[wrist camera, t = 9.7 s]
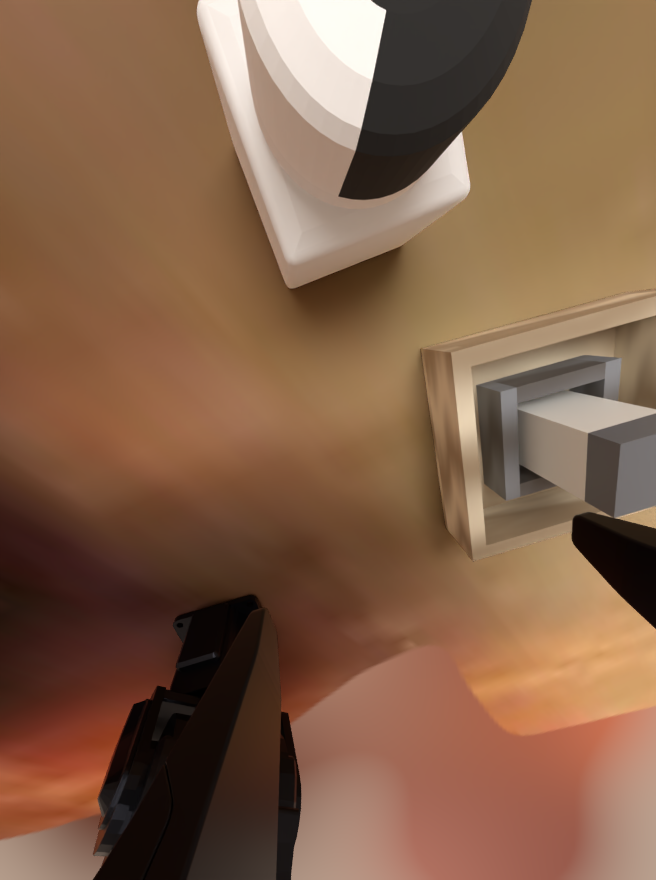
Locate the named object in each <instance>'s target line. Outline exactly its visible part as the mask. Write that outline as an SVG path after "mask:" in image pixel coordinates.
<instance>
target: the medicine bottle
mask: <svg viewBox="0 0 656 880" xmlns="http://www.w3.org/2000/svg"><path fill="white" fill-rule="evenodd" d="M531 1H532V0H199V2H198V6H197V17H198V23H199V27H200V30H201V34H202V37H203V41H204V44H205V48H206V51H207V55H208V58H209V62H210V65H211V68H212V72H213V75H214V79H215V82H216V86H217V89H218V93H219V96H220V100H221V103H222V107H223V110H224V114H225V117H226V121H227V124H228V128H229V131H230V135H231V138H232V142H233V145H234V148H235V151H236V153H237V156H238V159H239V161H240V164H241V167H242V169H243V172H244V175H245V177H246V180H247V183H248V185H249V188H250V191H251V193H252V196H253V199H254V201H255V204H256V207H257V209H258V212H259V215H260V217H261V220H262V223H263V225H264V228H265V231H266V233H267V236H268V239H269V241H270V244H271V247H272V249H273V252H274V255H275V257H276V260H277V263H278V265H279V268H280V271H281V273H282V276H283V279H284V281H285V284H286V285H287V287H288V288H290V289H293V288H297V287H299V286H302V285H304V284H307V283H309V282H312V281H314V280H317V279H319V278H322V277H324V276H327V275H329V274H332V273H335V272H337V271H340V270H342V269H345V268H347V267H350V266H352V265H355V264H357V263H360V262H362V261H365V260H367V259H370V258H372V257H375V256H377V255H380V254H382V253H385V252H388V251H390V250H393V249H395V248H398V247H400V246H402V245H403V244H405V243H406V242H407V241H409V240H410V239H411V238H413V237H414V236H415V235H417V234H418V233H419V232H421V231H422V230H424V229H425V228H426V227H428V226H429V225H430V224H432V223H433V222H434V221H436V220H437V219H438V218H440V217H441V216H442V215H444V214H445V213H447V212H448V211H449V210H451V209H452V208H453V207H455V206H456V205H457V204H459V203H460V202H461V201H463V200H464V199H465V198H466V197H467V195H468V193H469V191H470V180H469V174H468V168H467V161H466V155H465V149H464V143H463V136H462V131H463V130H464V128H465V127H466V126H467V125H468V124H469V123H470V122H471V120H472V119H473V118H474V117H475V116H476V115H477V113H478V112H479V111H480V110H481V109H482V107H483V106H484V105H485V104H486V102H487V101H488V100H489V99H490V98H491V96H492V94H493V93H494V91H495V90H496V88H497V87H498V85H499V83H500V82H501V80H502V79H503V77H504V75H505V73H506V71H507V69H508V67H509V65H510V63H511V61H512V59H513V57H514V55H515V52H516V50H517V47H518V44H519V42H520V39H521V36H522V34H523V31H524V28H525V24H526V20H527V17H528V13H529V9H530V5H531Z"/></svg>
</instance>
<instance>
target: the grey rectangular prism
mask: <svg viewBox="0 0 656 880" xmlns="http://www.w3.org/2000/svg"><path fill="white" fill-rule="evenodd" d="M517 413H518V443H519V464H520V465H522V466H524V467H525V468H527V469H529V470H531V471H532V472H534V473H536V474H538V475H539V476H541V477H543V478H545V479H546V480H548V481H550V482H552V483H553V484H555V485H557V486H559V487H560V488H562V489H564V490H566V491H567V492H569V493H571V494H573V495H574V496H576V497H578V498H580V499H581V500H583V501H585V502H587V503H588V504H590V505H592V506H594V507H595V508H597V509H599V510H600V511H602V512H604V513H606V514H607V515H609V516H611V517H613V518H616V517H620V516H623V515H626V514H630V513H633V512H636V511H640V510H643V509H646V508H650V507H653V506H656V409H652V408H647V407H642V406H638V405H633V404H628V403H624V402H619V401H614V400H609V399H605V398H600V397H595V396H591V395H586V394H581V393H577V392H572V391H567V390H563V391H560V392H556V393H553V394H549V395H546V396H542V397H539V398H535V399H532V400H528V401H525V402H521V403H518V404H517Z"/></svg>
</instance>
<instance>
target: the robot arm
mask: <svg viewBox="0 0 656 880" xmlns="http://www.w3.org/2000/svg"><path fill="white" fill-rule="evenodd" d="M572 541H573V544H574V545H575V547H576V548H577V549H578V550H579V551H580V552H581V553H582V555H583V556H584V557H585V558H586V559H587V560H588V561H589V562H590V563H591V564H592V566H593V567H594V568H595V569H596V570H597V571H598V572H599V573H600V574H601V575H602V576H603V578H604V579H605V580H606V581H607V582H608V583H609V584H610V585H611V586H612V587H613V588H614V589H615V591H616V592H617V593H618V594H619V595H620V596H621V597H622V598H623V599H624V600H625V601H626V602H627V603H629V604H630V605H631V606H632V607H633V608H634V609H635V610H636V611H637V612H638V613H639V614H640V615H641V616H642V617H644V618H645V619H646V620H647V621H648V622H649V623H650V624H651V625H652V626H653V627H654V628H655V629H656V529H655V528H651V527H647V526H643V525H640V524H636V523H632V522H628V521H624V520H620V519H616V518H612V517H608V516H605V515H601V514H597V513H593V512H585V513H581V514H578V515H575V516H574V517H573V519H572ZM249 602H252V603H249ZM173 627H174V629H175V631H176V632H177V634H178V636H179V637H180V639H181V641H182V642H183V645H182V648H181V651H180V654H179V657H178V660H177V663H176V668H177V669H176V672H175V675H174V678H173V681H172V684H171V687H170V690H166V687H161V686H157V687H156V689H155V691H154V693H153V695H152V696H151V698H150V699H146V700H145V701H142V702H139V703H136V704H134V705H133V707H132V709H131V711H130V713H129V716H128V718H127V721H126V723H125V726H124V728H123V730H122V733H121V735H120V738H119V740H118V743H117V745H116V748H115V751H114V753H113V756H112V759H111V762H110V764H109V767H108V770H107V773H106V776H105V779H104V782H103V784H102V787H101V790H100V793H99V796H98V803H99V807H100V810H101V814H102V815H101V818H100V822H99V826H98V829H99V832H98V836H97V840H96V843H95V847H94V852H93V855H94V856H105V858H104V860H103V863H102V866H101V868H100V870H99V871H98V873H97V874H96V876H95V877H94V879H93V880H291V869H292V860H293V851H294V845H295V841H296V837H297V832H298V827H299V820H300V811H301V783H300V775H299V769H298V764H297V759H296V754H295V748H294V743H293V737H292V732H291V726H290V721H289V716H288V713H285V712H281V687H280V672H279V657H278V642H277V632H276V628H275V626H274V623H273V621H272V619H271V616H270V614H269V612H268V610H267V609H266V608H261V607H260V605H259V602H258V600H257V598H256V597H255V596H253V595H249V596H245V597H242V598H239V599H235V600H232V601H228V602H225V603H222V604H218V605H215V606H211V607H208V608H205V609H201V610H198V611H195V612H191V613H188V614H184V615H181V616H178V617H176V618H175V621H174V623H173Z"/></svg>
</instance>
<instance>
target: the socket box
mask: <svg viewBox="0 0 656 880" xmlns="http://www.w3.org/2000/svg"><path fill="white" fill-rule="evenodd" d="M421 354H422V361H423V369H424V376H425V383H426V390H427V397H428V405H429V412H430V419H431V426H432V433H433V441H434V448H435V455H436V462H437V469H438V477H439V484H440V491H441V498H442V505H443V513H444V520H445V527H446V529H447V530H448V531H449V532H450V534H451V535H452V536H453V537H454V538H455V540H456V541H457V542H458V543H459V545H460V546H461V547H462V548H463V550H464V551H465V552H466V553H467V555H468V556H469V557H470V558H471V560H472V561H473V562H474V561H477V560H480V559H484V558H487V557H490V556H494V555H497V554H500V553H504V552H507V551H510V550H514V549H517V548H520V547H524V546H527V545H530V544H534V543H537V542H541V541H544V540H547V539H551V538H554V537H557V536H561V535H564V534H567V533H571V532H572V519H573V517H574V516H575V515H578V514H581V513H585V512H593V513H597V514H601V515H605V516H608V517H611V516H609V515H607V514H606V513H604V512H602V511H600V510H599V509H597V508H595V507H594V506H592V505H590V504H588V503H587V502H585V501H583V500H581V499H580V498H578V497H576V496H574V495H573V494H571V493H569V492H567V491H566V490H564V489H562V488H560V487H559V486H557V485H555V484H553V483H552V482H550V481H548V480H546V479H545V478H543V477H541V476H539V475H538V474H536V473H534V472H532V471H531V470H529V469H527V468H525V467H524V466H522V465H520V464H519V443H518V413H517V404H518V403H521V402H525V401H528V400H532V399H535V398H539V397H542V396H546V395H549V394H553V393H556V392H560V391H563V390H567V391H572V392H577V393H581V394H586V395H591V396H595V397H600V398H605V399H609V400H614V401H619V402H624V403H628V404H633V405H638V406H642V407H647V408H652V409H656V289H648V290H639V291H630V292H625V293H621V294H617V295H614V296H610V297H607V298H603V299H599V300H596V301H592V302H588V303H585V304H581V305H577V306H574V307H570V308H566V309H563V310H559V311H556V312H552V313H548V314H545V315H541V316H537V317H534V318H530V319H526V320H523V321H519V322H515V323H512V324H508V325H505V326H501V327H497V328H494V329H490V330H486V331H483V332H479V333H475V334H472V335H468V336H465V337H461V338H457V339H454V340H450V341H446V342H443V343H439V344H435V345H432V346H428V347H424V348H421ZM654 507H656V506H653V507H650V508H646V509H643V510H640V511H636V512H633V513H630V514H626V515H623V516H620V517H616V519H617V518H621V517H624V516H627V515H631V514H634V513H637V512H641V511H644V510H647V509H651V508H654ZM612 518H613V517H612Z"/></svg>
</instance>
